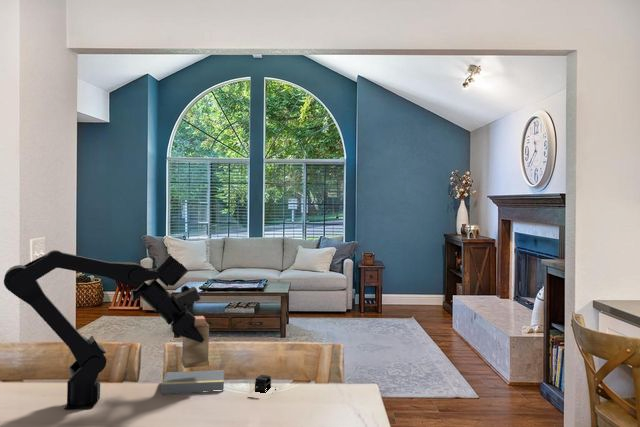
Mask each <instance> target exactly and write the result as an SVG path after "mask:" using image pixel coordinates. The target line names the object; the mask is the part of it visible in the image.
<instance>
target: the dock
mask: <svg viewBox="0 0 640 427" xmlns="http://www.w3.org/2000/svg"><path fill="white" fill-rule="evenodd" d="M224 384H225V370H224V369H222V370H220V369H219V370H218V369H217V370H193V371H190V370H189V371H168V372H165V375H164V378H163V380H162V383H161V385H160V386H161V388H160V390H161V391H160V392H161V395H169V394H170V393H175V394H188V393H187V392H190V393H189V394H192V393H191V392H197V393H204V392H203V391H213V390H223V389H224V388H225V387H224ZM224 390H225V389H224Z"/></svg>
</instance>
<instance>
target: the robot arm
mask: <svg viewBox="0 0 640 427" xmlns="http://www.w3.org/2000/svg"><path fill="white" fill-rule="evenodd" d="M55 269H62V270H69V271H74V272H77V273H78V272H79V273H83V274H88V275H89V274H90V275H94V276H100V277H104V278H108V279H110V280H113V281H116V282H119V283H121V284H123V285H125V286H129V287H132V288H137V289H131V290H130V292H131V297H130V298H131V300H132V301H133V302H136V301H137V300H138V299H139V298H141V300H142V301H144V302H145V303H146V304H147V305H148V306H149V307H150V308H151V309H152V310H153V311H154V312H155V313H156V314H157V315H159V316H160V317H161V318H162V319H163V320H164V321H165V323H166V324H168V325H170V330H171V332H172V334H174V335H175V336H176V337H178V338H179V337H182V338H183V337H186V338H189V339H192V340H195V341H198V342H201V343H202V342H203V341H204V338H203V337H202V336H201V334H200V333H199V331H198V330H197V328H196V327H195V325H194V324H195V319H196V318H195V317H194V314H192V313H191V312H190V310H189V309H187V306H188V305H191V304H194V303H195V302H199V301H201V300H202V298H201V296H200V294H199V291H198V289H197V287H196V286H191V287H189V286H188V285H184V286H180V292H179V293H178V294H176V295H174V294H173V293H171V292H169V291H168V290H167V289H166V288H168V287H175V285H176V284H177V283H178V282H179V281H180V280H181V279H183V278H184V276H185V275H186V274H187V273H188V271H189V270H188V269H187V268H186V266H184V264H182V263H181V262H179V261H178V260H176V258H174V257H173V256H172V255H170V254H168V255H167V256H166V257H165V258H164V259H163V261H162V262H161V263H160V264H159V265H158V266H157V267H155V269H154V268H152V267H144V266H143V265H141V264H138V262H137V263H136V262H129V261H128V262H126V261H106V260H100V259H98V258H97V259H96V258H91V257H85V256H81V255H76V254H72V253H66V252H62V251H60V250H58V249H53V250H50V251H49V252H47V253H46V254H44V255H42V256H40V257H38V258H36V259H34V260H31V261H29V262H28V263H26V264H24V265H22V264H18V265H14V266H11V267H10V268H8V270H6V272H5V274H4V277H3V278H4V279H3V285H4V287H5V289H6V290H8V292H10V293H11V294H13V295H14V296H16V297H17V298H18V299H20V300H22V301H23V302H24V303H26V304H27V305H29V306H30V307H31V308H32V309H33V310H34V311H35V312H36V313H37V314H38V315H39V317H41V319H42V320H43V321H44V322H45V323H46V324H47V326H49V328H51V330H52V331H53V332H54V334H56V335H57V336H58V338H60V339H61V340H62V342H63V343H64V344H65V345H66V346H67V347H68V348H69V350H70V351H71V353H72V355H73V357H74V359H75V361H74V362H73V363H72V364H71V365H70V366H69V367H68V371H69V372H68V373H69V375H70V378H69V379H68V380H67V386H66V394H67V395H66V405H64V410H76V409H79V410H80V409H92V408H93V409H94V407H95V406H96V404H97V403H98V402H99V400H100V399H101V382H99V374H100V373H102V371H104V369H105V367H106V366H107V361H108V360H107V357H106V356H105V355H106V350H105V348H104V347H103V345H101V344H99V343H98V342H97V340H96V339H95V337H94V336H93V335H90V337H89V338H87V337H86V336H83V335H82V334H81V333H80V332H79V331H78V329H77V328H75V326H74V325H73V324H72V323H71V321H69V319H68V318H67V317H66V316H65V315H64V314H63V313H62V311H61V310H60V309H59V308H58V307H57V306H56V305H55V303H53V301H52V300H51V299H50V298H49V297H48V296H47V295H46V294H45V292H44V290H43V289H42V288H43V287H41V284H40V283H39V281H38V280H39V279H41V278H42V277H44V276H46V275H47V274H48V273H50V272H52V271H53V270H55ZM157 280H159V282H158V281H157ZM161 284H163V285H164V286H165V287H166V288H165V287H164V286H163V285H161Z"/></svg>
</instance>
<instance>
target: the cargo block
mask: <svg viewBox="0 0 640 427" xmlns="http://www.w3.org/2000/svg"><path fill="white" fill-rule="evenodd" d="M193 316H194V315H193ZM194 317H195V318H196V319H195V324H194V325H195V326H204V325H205V321H206V317H205V316H204V315H195V316H194Z"/></svg>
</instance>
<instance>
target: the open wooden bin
mask: <svg viewBox="0 0 640 427" xmlns="http://www.w3.org/2000/svg"><path fill="white" fill-rule="evenodd" d="M195 327H196V328H197V330H198V331H199V333H200V334H201V336H202V337H203V338H204V341H203V342H202V343H201V342H198V341H195V340H192V339H189V338H186V337H182V345H181V346H182V348H181V349H182V350H181V351H182V352H181V355H182V356H181V357H180V360H181V361H180V362H181V364H182V365H183V368H184V369H188V368H190V369H191V368H198V367H199V368H200V367H209V366H210V360H209V344H210V342H209V341H210V324H209V323H207V321H206V320H205V325H204V326H195Z"/></svg>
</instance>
